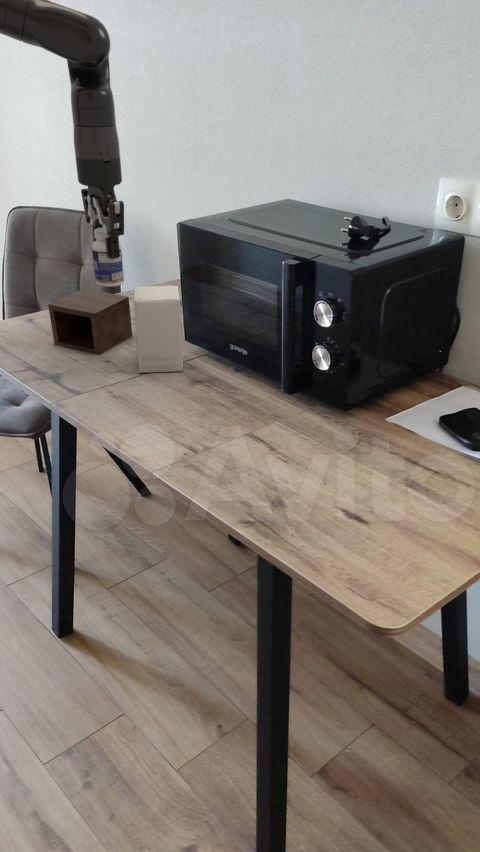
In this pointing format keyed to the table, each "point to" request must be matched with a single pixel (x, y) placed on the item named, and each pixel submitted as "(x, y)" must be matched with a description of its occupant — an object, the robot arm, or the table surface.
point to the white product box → (158, 328)
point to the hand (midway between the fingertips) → (107, 253)
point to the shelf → (90, 320)
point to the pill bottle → (106, 262)
